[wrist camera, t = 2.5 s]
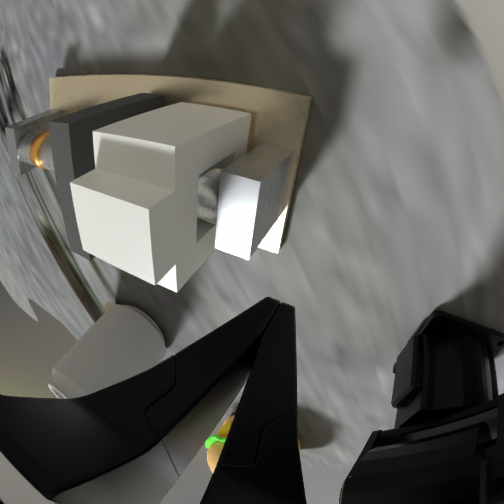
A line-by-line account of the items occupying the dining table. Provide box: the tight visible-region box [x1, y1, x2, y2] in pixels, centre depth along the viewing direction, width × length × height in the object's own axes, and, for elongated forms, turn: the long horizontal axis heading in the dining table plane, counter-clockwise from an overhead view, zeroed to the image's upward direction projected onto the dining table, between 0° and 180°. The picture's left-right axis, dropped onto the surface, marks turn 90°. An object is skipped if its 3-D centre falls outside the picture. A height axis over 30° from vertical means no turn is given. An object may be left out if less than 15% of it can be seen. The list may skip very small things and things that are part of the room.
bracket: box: [70, 102, 251, 293], centre depth 14 cm, size 4×6×8 cm, turn 173°
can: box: [48, 304, 166, 399], centre depth 27 cm, size 8×8×12 cm
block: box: [49, 93, 164, 261], centre depth 15 cm, size 2×7×6 cm, turn 172°
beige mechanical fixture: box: [5, 74, 312, 260], centre depth 16 cm, size 20×9×5 cm, turn 83°
